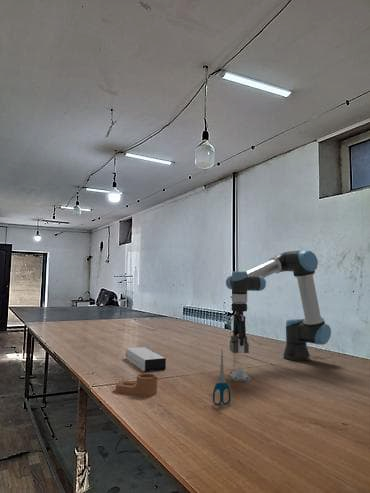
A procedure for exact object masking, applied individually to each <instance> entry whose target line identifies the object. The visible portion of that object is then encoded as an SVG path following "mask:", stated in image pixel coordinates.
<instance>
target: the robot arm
mask: <svg viewBox="0 0 370 493" xmlns="http://www.w3.org/2000/svg"><path fill="white" fill-rule="evenodd" d="M318 264H319V262H318V257H317V256H316V254H315V253H314V252H313V251H311V250H307V249H306V250H305V249H304V250H292V251H290V250H289V251H284V252H282V253H280V254H277V255H274V256H273V257H271V258H269V260H268V261H265V262H263V263H261V264H259V265H257V266H255V267H252V268H250V269H248V270H235V271H234V270H233V271H232V273H231V275H229V276H227V277H226V280H225V285H226V286H225V287H227V289H229V290H231V296H230V298H231V302H232V303H231V309H230V310H231V312H235V313H233V314H232V315H233V316H232V317H233V327H232V334H233V336H234V335H237V334H239V337H238V353H237V354H245V353H244V339H245V338H246V336H247V335H246V334H247V332H246V329H247V328H246V316H245V315H244V312H248V291H252V292H254V291H255V292H260V291H263V290H264V289H265V288H266V286H267V282H266V281H267V280H266V279H265V278H267V277H268V276H269V277H270V276H271V275H273V274H280V273H282V272H292V273H293V277H294V278H296V279H297V283H298V289H299V294H300V299H301V305H302V310H303V314H304V315H303V316H304V318H298V319H297V318H296V319H288V320H286V323H285V338H286V339H285V342H286V343H285V344H286V345H285V347H284V351H283V354H282V356H283V359H285V360H289V361H296V362H297V361H299V362H307V361H309V360H311V355H310V353H309V352H310V351H309V349H308V346H307V344H308V343H309V344H314V345H321V346H322V345H323V346H324V345H326V344H327V343H328V342H329V341H330V339H331V333H332V330H331V327H330V325H329V324H327V323H326V322H325V319H324V317H322V316H321V312H320V307H319V300H318V296H317V292H316V291H317V290H316V284H315V281H314V275H315V273H316V270H317V268H318V266H319V265H318Z"/></svg>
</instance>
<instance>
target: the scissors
mask: <svg viewBox="0 0 370 493" xmlns="http://www.w3.org/2000/svg"><path fill="white" fill-rule="evenodd" d="M220 353H221V354H220V356H221V357H220V368H219V369H220V370H219V379H218V381H217V383H215V386H214V388H213V392H212V403H213V404H214V405H215V406H219V405H221V404H224V405H226V404H227V405H229V404H230V403H231V398H232V397H231V396H232V395H231V390H230V386H229V384H228V382H227V381H226V379H225V371H224V369H225V367H224V356H223V355H224V352H223V349H221V352H220ZM217 390H219V401H218V402H216V400H215V398H216V392H217ZM225 390H227V391H228V399H227V401H225V400H224V393H225Z"/></svg>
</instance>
